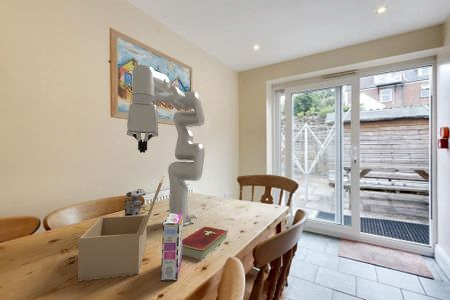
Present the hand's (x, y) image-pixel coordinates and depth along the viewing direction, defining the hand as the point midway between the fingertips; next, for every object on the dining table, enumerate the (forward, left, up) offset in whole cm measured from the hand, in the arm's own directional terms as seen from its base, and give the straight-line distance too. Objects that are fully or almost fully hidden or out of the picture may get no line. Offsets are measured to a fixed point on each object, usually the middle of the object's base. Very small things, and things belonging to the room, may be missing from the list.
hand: (142, 152), depth 77 cm
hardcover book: (-23, -3, -37) cm, 44 cm away
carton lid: (-4, +3, -17) cm, 18 cm away
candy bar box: (-11, +13, -37) cm, 41 cm away
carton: (+7, +3, -37) cm, 37 cm away
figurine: (+9, -47, -37) cm, 60 cm away
